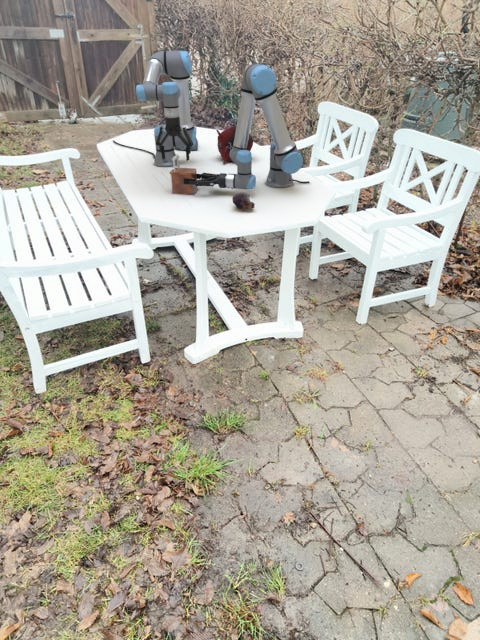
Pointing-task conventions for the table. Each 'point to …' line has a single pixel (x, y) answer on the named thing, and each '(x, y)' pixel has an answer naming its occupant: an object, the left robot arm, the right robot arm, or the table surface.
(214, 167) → the table surface
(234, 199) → the rock
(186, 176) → the chest
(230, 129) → the decorative skull
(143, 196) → the table surface
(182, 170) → the lid
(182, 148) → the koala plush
